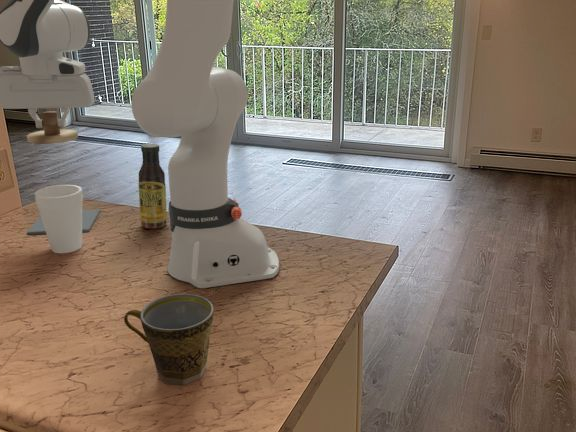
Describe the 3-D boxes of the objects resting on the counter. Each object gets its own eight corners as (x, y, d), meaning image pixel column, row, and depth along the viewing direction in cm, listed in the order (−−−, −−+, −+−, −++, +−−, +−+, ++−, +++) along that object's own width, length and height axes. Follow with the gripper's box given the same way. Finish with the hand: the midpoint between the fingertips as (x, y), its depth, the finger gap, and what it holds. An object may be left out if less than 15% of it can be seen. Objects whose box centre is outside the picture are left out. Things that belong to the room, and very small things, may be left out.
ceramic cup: (224, 354, 84) (221, 296, 81) (204, 397, 75) (200, 333, 72) (143, 346, 86) (137, 289, 83) (114, 387, 77) (106, 324, 74)
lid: (82, 132, 135) (79, 108, 133) (71, 143, 125) (68, 116, 123) (35, 133, 134) (31, 108, 132) (20, 144, 124) (16, 117, 121)
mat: (100, 211, 144) (100, 209, 144) (89, 231, 131) (89, 229, 131) (44, 213, 142) (43, 211, 142) (27, 234, 129) (26, 231, 129)
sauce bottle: (138, 230, 132) (130, 148, 125) (144, 220, 137) (136, 142, 130) (166, 230, 132) (159, 148, 125) (170, 220, 137) (164, 142, 131)
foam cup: (79, 256, 118) (71, 198, 113) (36, 256, 118) (26, 198, 113) (95, 239, 127) (88, 184, 122) (54, 238, 127) (46, 184, 122)
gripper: (-13, 67, 119) (-1, 131, 124) (86, 66, 122) (93, 129, 127) (-2, 64, 125) (8, 125, 130) (91, 63, 128) (99, 123, 132)
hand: (51, 127), depth 128 cm, fingers closed on lid, 3 cm apart
